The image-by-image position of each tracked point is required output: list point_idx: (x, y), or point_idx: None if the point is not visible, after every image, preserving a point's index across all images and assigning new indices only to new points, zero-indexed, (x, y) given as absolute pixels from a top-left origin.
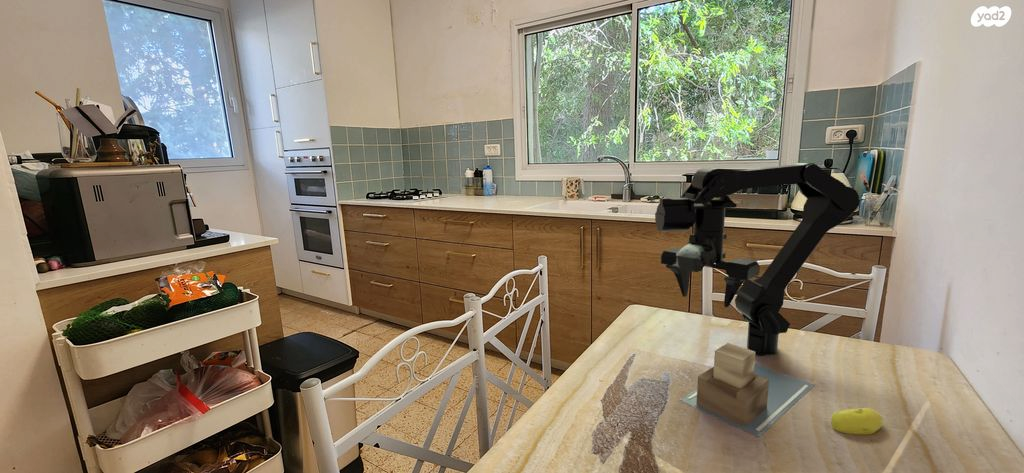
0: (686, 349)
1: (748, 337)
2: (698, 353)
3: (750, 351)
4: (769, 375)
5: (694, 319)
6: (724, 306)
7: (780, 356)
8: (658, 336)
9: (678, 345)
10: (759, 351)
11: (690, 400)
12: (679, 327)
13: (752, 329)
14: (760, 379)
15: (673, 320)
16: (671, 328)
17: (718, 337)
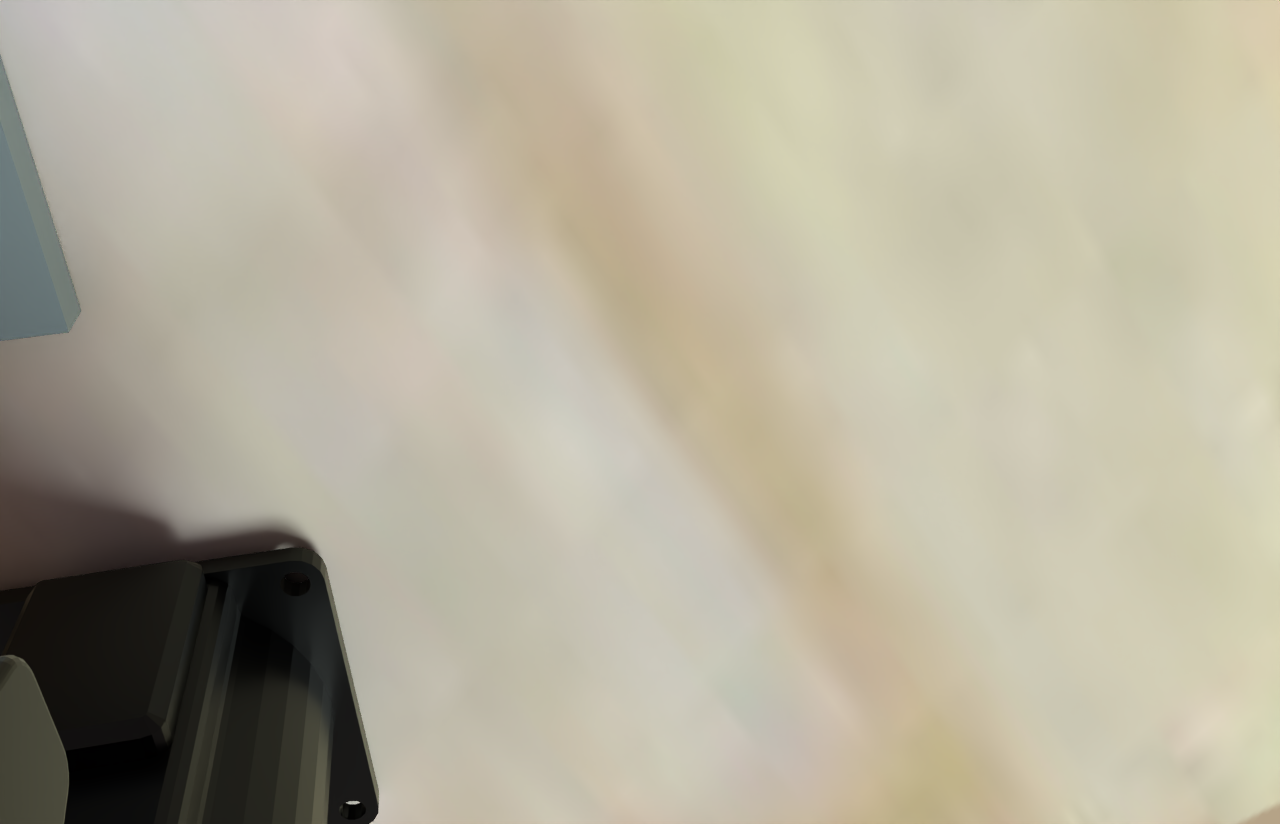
0: (756, 62)
1: (198, 708)
2: (582, 91)
3: None
4: None
5: (1107, 784)
6: (6, 658)
7: None
8: (1226, 95)
9: (896, 80)
10: (34, 615)
11: None
12: (1139, 517)
13: (119, 819)
14: None
15: (1273, 606)
16: (1199, 424)
17: (693, 644)
